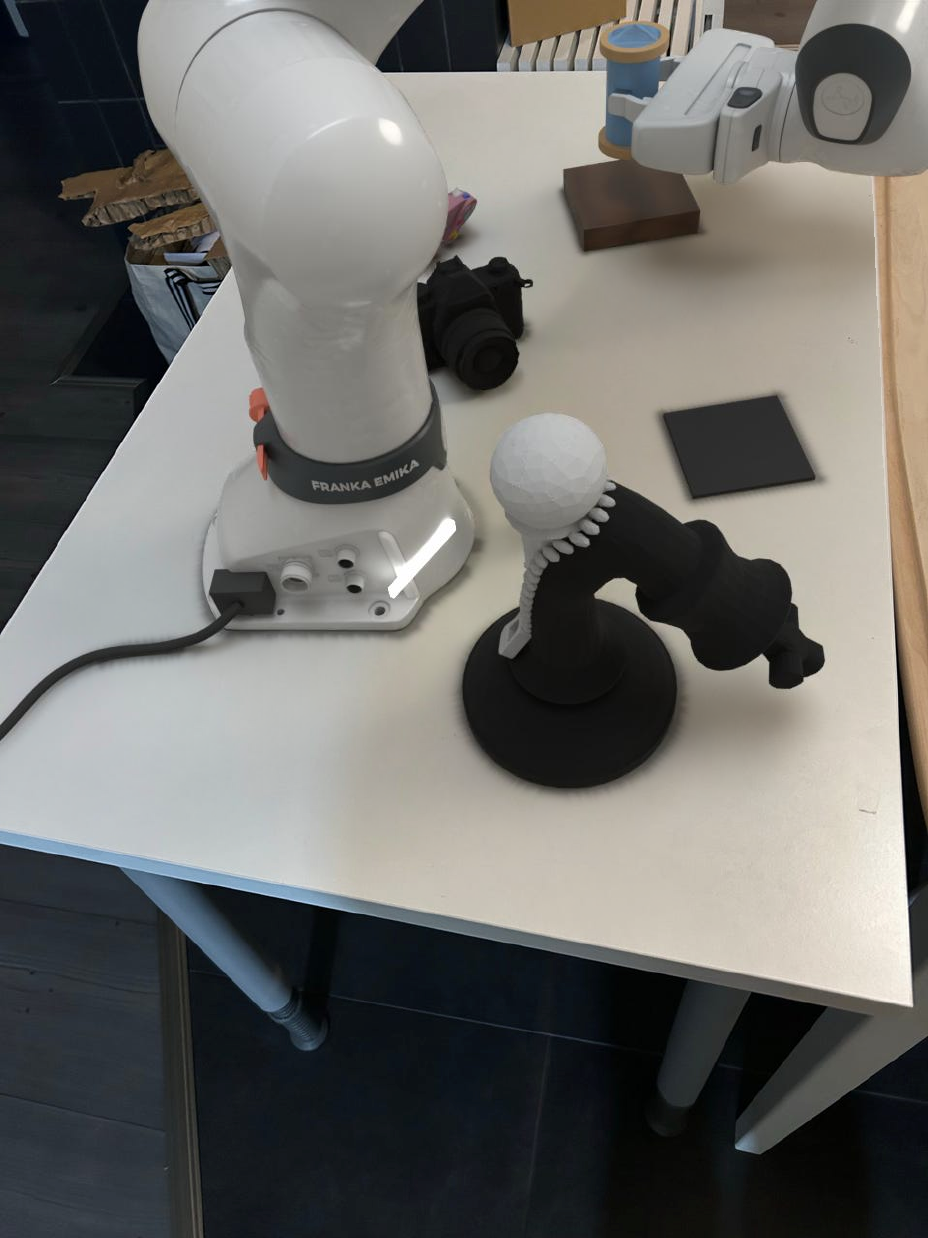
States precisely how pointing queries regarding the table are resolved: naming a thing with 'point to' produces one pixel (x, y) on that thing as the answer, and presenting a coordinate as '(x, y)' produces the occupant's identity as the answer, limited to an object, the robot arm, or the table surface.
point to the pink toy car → (457, 213)
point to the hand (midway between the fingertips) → (623, 85)
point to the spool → (629, 76)
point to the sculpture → (609, 614)
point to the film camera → (472, 320)
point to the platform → (628, 203)
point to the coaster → (737, 447)
